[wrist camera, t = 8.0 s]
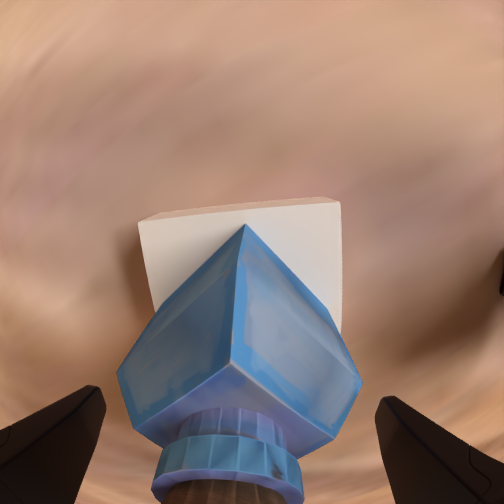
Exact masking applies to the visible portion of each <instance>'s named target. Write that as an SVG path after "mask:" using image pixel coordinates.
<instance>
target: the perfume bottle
mask: <svg viewBox="0 0 504 504" xmlns="http://www.w3.org/2000/svg"><path fill="white" fill-rule="evenodd" d="M116 373H117V377H118V381H119V384H120V388H121V391H122V395H123V398H124V401H125V404H126V407H127V411H128V414H129V417H130V420H131V422H132V425H133V428H134V429H135V430H136V431H138V432H139V433H141V434H142V435H143V436H145V437H146V438H148V439H149V440H151V441H152V442H154V443H155V444H157V445H159V446H160V447H162V448H163V449H164V450H162V453H161V456H160V459H159V463H158V466H157V469H156V473H155V476H154V479H153V483H152V487H151V491H152V492H153V494H154V496H155V498H156V499H157V500H158V501H159V502H160V503H161V504H303V502H304V491H303V483H302V475H301V469H300V466H299V464H298V461H297V459H299V458H301V457H303V456H305V455H307V454H309V453H311V452H313V451H314V450H316V449H318V448H320V447H322V446H324V445H325V444H327V443H329V442H331V441H332V440H334V439H335V438H336V436H337V434H338V432H339V430H340V429H341V427H342V425H343V423H344V421H345V419H346V417H347V415H348V413H349V411H350V409H351V407H352V405H353V403H354V401H355V399H356V397H357V395H358V392H359V390H360V388H361V386H362V384H363V382H362V380H361V377H360V375H359V373H358V371H357V369H356V367H355V365H354V362H353V360H352V358H351V356H350V354H349V352H348V350H347V348H346V346H345V344H344V342H343V339H342V337H341V335H340V333H339V331H338V329H337V327H336V325H335V323H334V321H333V319H332V317H331V315H330V313H329V311H328V309H327V308H326V307H325V306H324V305H323V304H322V303H321V302H320V300H319V299H318V298H317V297H316V296H315V295H314V294H313V293H312V292H311V291H310V290H309V289H308V288H307V287H306V286H305V285H304V283H303V282H302V281H301V280H300V279H299V278H298V277H297V276H296V275H295V274H294V273H293V272H292V271H291V270H290V269H289V268H288V267H287V266H286V265H285V263H284V262H283V261H282V260H281V259H280V258H279V257H278V256H277V255H276V254H275V253H274V252H273V251H272V250H271V249H270V248H269V247H268V246H267V245H266V244H265V243H264V242H263V241H262V239H261V238H260V237H259V236H258V235H257V234H256V233H255V232H254V231H253V230H252V229H251V228H250V227H249V226H248V225H247V224H246V223H245V224H244V225H243V226H242V227H241V228H240V229H239V230H238V231H237V232H236V233H235V234H234V235H233V236H232V237H231V238H229V239H228V240H227V241H226V242H225V243H224V244H223V245H222V246H221V247H220V248H219V249H218V250H217V251H216V252H215V253H214V254H213V255H212V256H211V257H210V258H209V259H207V260H206V261H205V262H204V263H203V264H202V265H201V266H200V267H199V268H198V269H197V270H196V271H195V272H194V273H193V274H192V275H191V276H190V277H189V278H188V279H187V280H186V281H185V282H184V283H183V284H182V285H181V286H180V287H179V288H178V289H177V290H176V291H175V292H173V293H172V294H171V295H170V296H169V297H168V298H167V299H166V300H165V301H164V302H163V303H162V305H161V306H160V307H159V309H158V310H157V312H156V313H155V315H154V316H153V318H152V319H151V321H150V322H149V324H148V325H147V327H146V328H145V330H144V331H143V332H142V334H141V335H140V337H139V338H138V340H137V341H136V343H135V344H134V346H133V347H132V349H131V351H130V352H129V354H128V355H127V357H126V358H125V360H124V361H123V363H122V364H121V366H120V367H119V369H118V370H117V372H116Z"/></svg>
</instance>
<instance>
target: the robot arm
mask: <svg viewBox="0 0 504 504" xmlns="http://www.w3.org/2000/svg"><path fill="white" fill-rule="evenodd" d="M500 294H501V295H502V296H504V276H503V281H502V285H501V289H500ZM105 413H106V403H105V400H104V398H103V395H102V392H101V389H100V388H99V387H97V386H93V385H87V386H85V387H83V388H81V389H79V390H77V391H75V392H74V393H72V394H70V395H68V396H66V397H64V398H62V399H60V400H59V401H57V402H55V403H53V404H51V405H49V406H47V407H45V408H43V409H41V410H39V411H37V412H36V413H34V414H32V415H30V416H28V417H26V418H24V419H22V420H20V421H18V422H16V423H14V424H12V425H10V426H8V427H6V428H4V429H1V430H0V504H74V503H75V500H76V497H77V494H78V492H79V489H80V486H81V483H82V481H83V478H84V475H85V473H86V470H87V468H88V465H89V463H90V460H91V457H92V455H93V452H94V450H95V447H96V444H97V441H98V437H99V434H100V430H101V427H102V423H103V420H104V416H105ZM375 424H376V429H377V434H378V440H379V445H380V450H381V455H382V460H383V463H384V466H385V470H386V473H387V476H388V479H389V483H390V486H391V490H392V493H393V496H394V500H395V503H396V504H504V463H502V462H500V461H498V460H496V459H493V458H491V457H489V456H488V455H486V454H484V453H482V452H481V451H479V450H477V449H476V448H474V447H472V446H471V445H470V446H469V444H467V443H466V442H464V441H463V440H461V439H459V438H458V437H456V436H455V435H453V434H452V433H450V432H448V431H447V430H445V429H444V428H442V427H441V426H439V425H438V424H436V423H435V422H433V421H431V420H430V419H428V418H427V417H425V416H424V415H422V414H421V413H419V412H418V411H416V410H415V409H413V408H412V407H410V406H409V405H407V404H406V403H404V402H403V401H401V400H400V399H398V398H397V397H395V396H387V397H383V398H382V399H381V400H380V403H379V406H378V408H377V411H376V414H375Z"/></svg>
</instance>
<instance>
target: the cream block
mask: <svg viewBox="0 0 504 504" xmlns="http://www.w3.org/2000/svg"><path fill="white" fill-rule="evenodd" d="M245 223H246V224H247V225H248V226H249V227H250V228H251V229H252V230H253V231H254V232H255V233H256V234H257V235H258V236H259V237H260V238H261V239H262V241H263V242H264V243H265V244H266V245H267V246H268V247H269V248H270V249H271V250H272V251H273V252H274V253H275V254H276V255H277V256H278V257H279V258H280V259H281V260H282V261H283V262H284V263H285V265H286V266H287V267H288V268H289V269H290V270H291V271H292V272H293V273H294V274H295V275H296V276H297V277H298V278H299V279H300V280H301V281H302V282H303V283H304V285H305V286H306V287H307V288H308V289H309V290H310V291H311V292H312V293H313V294H314V295H315V296H316V297H317V298H318V299H319V300H320V302H321V303H322V304H323V305H324V306H325V307H326V308H327V309H328V311H329V313H330V315H331V317H332V319H333V321H334V323H335V325H336V327H337V329H338V331H339V333H340V335H341V316H342V234H341V209H340V202H338V201H335V200H332V199H330V198H327V197H311V198H298V199H285V200H273V201H261V202H251V203H240V204H231V205H221V206H212V207H203V208H195V209H186V210H178V211H171V212H163V213H158V214H156V215H153V216H151V217H149V218H146V219H144V220H142V221H139V222H138V228H139V234H140V240H141V246H142V252H143V257H144V262H145V267H146V272H147V277H148V282H149V287H150V292H151V296H152V301H153V305H154V309H155V313H156V312H157V310H158V309H159V307H160V306H161V305H162V303H163V302H164V301H165V300H166V299H167V298H168V297H169V296H170V295H171V294H172V293H173V292H175V291H176V290H177V289H178V288H179V287H180V286H181V285H182V284H183V283H184V282H185V281H186V280H187V279H188V278H189V277H190V276H191V275H192V274H193V273H194V272H195V271H196V270H197V269H198V268H199V267H200V266H201V265H202V264H203V263H204V262H205V261H206V260H207V259H209V258H210V257H211V256H212V255H213V254H214V253H215V252H216V251H217V250H218V249H219V248H220V247H221V246H222V245H223V244H224V243H225V242H226V241H227V240H228V239H229V238H231V237H232V236H233V235H234V234H235V233H236V232H237V231H238V230H239V229H240V228H241V227H242V226H243V225H244V224H245Z"/></svg>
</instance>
